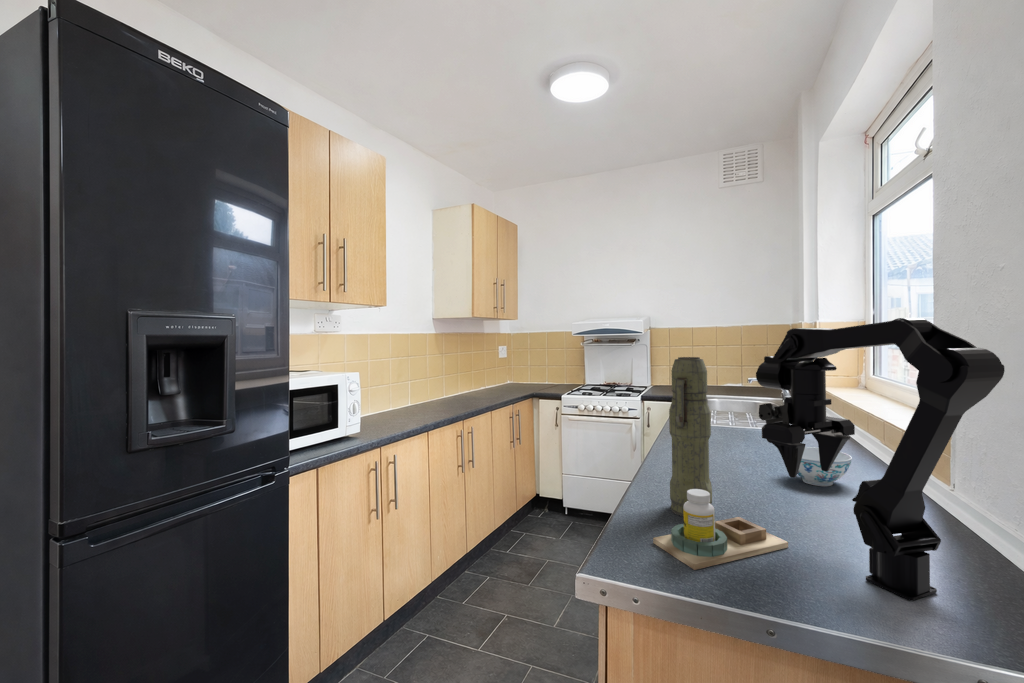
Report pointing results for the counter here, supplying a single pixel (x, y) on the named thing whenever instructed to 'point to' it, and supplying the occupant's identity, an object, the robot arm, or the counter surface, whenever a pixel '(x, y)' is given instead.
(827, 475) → the chinaware
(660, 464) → the counter surface
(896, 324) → the robot arm
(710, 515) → the supplement bottle
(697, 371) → the thermos
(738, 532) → the socket board
